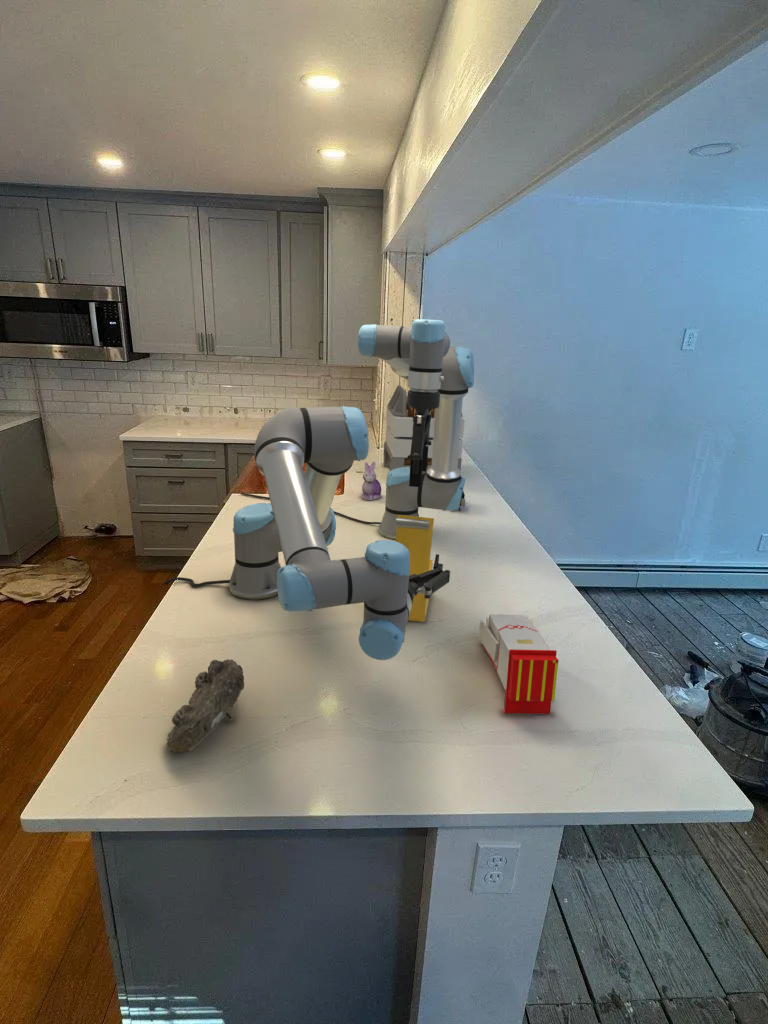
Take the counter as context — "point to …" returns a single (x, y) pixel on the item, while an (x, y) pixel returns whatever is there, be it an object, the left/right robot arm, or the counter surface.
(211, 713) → the fossil
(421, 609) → the yellow open-ended box
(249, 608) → the counter surface
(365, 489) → the figurine
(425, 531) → the yellow block with rod
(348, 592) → the left robot arm
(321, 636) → the counter surface
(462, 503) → the figurine character
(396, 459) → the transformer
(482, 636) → the toy
